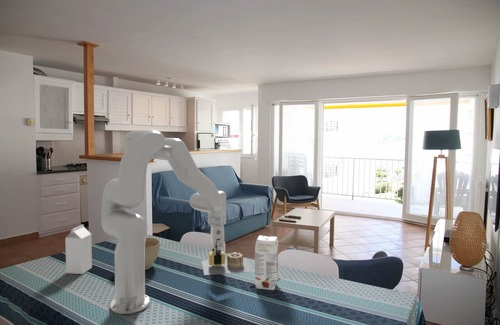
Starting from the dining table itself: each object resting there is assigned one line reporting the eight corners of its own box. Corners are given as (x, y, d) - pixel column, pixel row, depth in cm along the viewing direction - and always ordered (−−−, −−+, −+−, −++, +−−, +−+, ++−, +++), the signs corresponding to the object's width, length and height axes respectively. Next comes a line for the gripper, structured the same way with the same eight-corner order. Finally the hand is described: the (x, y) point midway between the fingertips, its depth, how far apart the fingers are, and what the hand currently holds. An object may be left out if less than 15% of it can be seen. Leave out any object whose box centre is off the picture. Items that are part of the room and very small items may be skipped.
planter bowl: (154, 274, 139) (154, 249, 138) (115, 273, 140) (114, 248, 139) (164, 260, 155) (164, 237, 154) (129, 259, 156) (129, 236, 155)
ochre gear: (225, 265, 142) (225, 255, 142) (209, 266, 141) (209, 256, 141) (223, 260, 149) (223, 250, 149) (208, 260, 148) (208, 250, 147)
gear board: (252, 275, 140) (252, 258, 140) (204, 278, 136) (204, 261, 136) (245, 261, 156) (245, 246, 155) (201, 263, 152) (201, 248, 151)
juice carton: (276, 291, 126) (277, 241, 124) (253, 289, 127) (254, 240, 126) (278, 283, 133) (279, 235, 132) (256, 281, 135) (257, 234, 133)
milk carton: (92, 267, 145) (91, 224, 144) (82, 274, 138) (81, 229, 137) (76, 267, 146) (75, 223, 145) (66, 273, 139) (64, 228, 138)
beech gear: (245, 266, 146) (246, 256, 146) (232, 269, 142) (232, 259, 142) (237, 261, 151) (237, 251, 151) (224, 264, 148) (224, 254, 147)
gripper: (228, 224, 136) (228, 268, 137) (223, 215, 153) (222, 253, 154) (210, 225, 134) (209, 269, 136) (206, 215, 151) (206, 254, 153)
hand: (216, 260), depth 145 cm, fingers closed on ochre gear, 6 cm apart
